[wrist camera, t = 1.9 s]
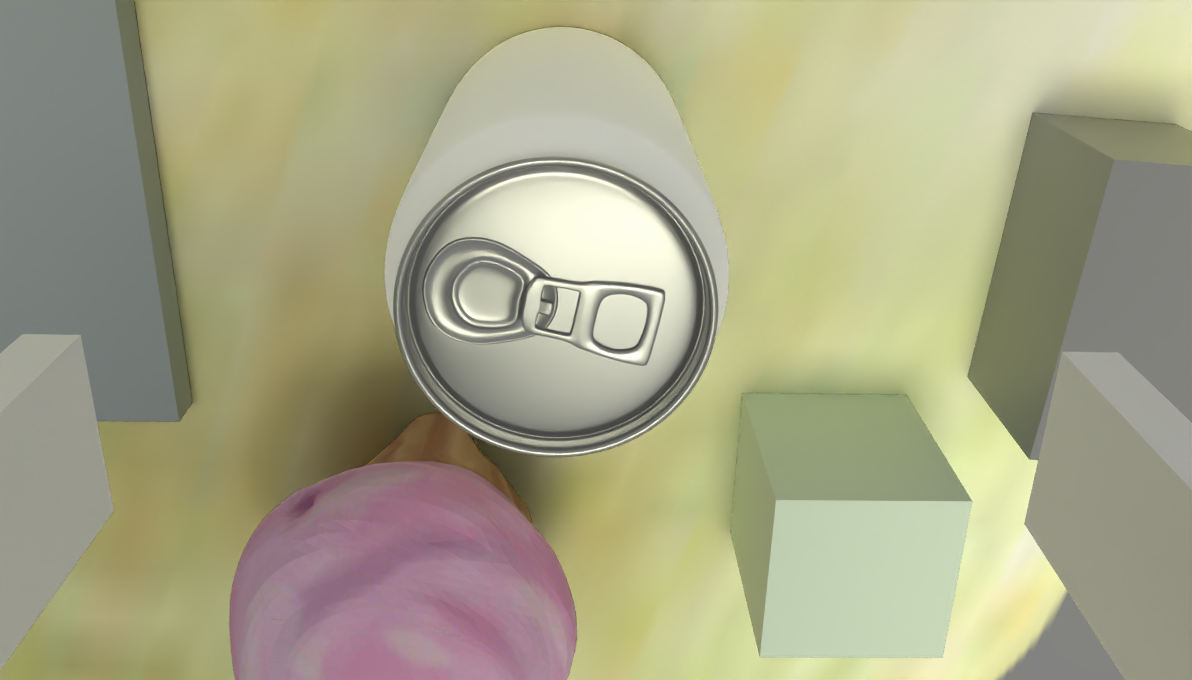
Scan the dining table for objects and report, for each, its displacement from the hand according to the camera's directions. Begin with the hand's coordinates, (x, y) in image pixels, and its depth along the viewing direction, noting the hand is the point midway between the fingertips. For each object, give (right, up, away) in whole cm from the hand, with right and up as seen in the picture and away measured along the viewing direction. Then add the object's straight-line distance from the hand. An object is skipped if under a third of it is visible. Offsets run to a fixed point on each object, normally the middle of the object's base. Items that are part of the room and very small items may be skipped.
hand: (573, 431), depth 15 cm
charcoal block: (+14, +4, +17) cm, 22 cm away
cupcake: (-5, -3, +19) cm, 20 cm away
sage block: (+7, -3, +19) cm, 21 cm away
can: (-1, +7, +15) cm, 16 cm away
